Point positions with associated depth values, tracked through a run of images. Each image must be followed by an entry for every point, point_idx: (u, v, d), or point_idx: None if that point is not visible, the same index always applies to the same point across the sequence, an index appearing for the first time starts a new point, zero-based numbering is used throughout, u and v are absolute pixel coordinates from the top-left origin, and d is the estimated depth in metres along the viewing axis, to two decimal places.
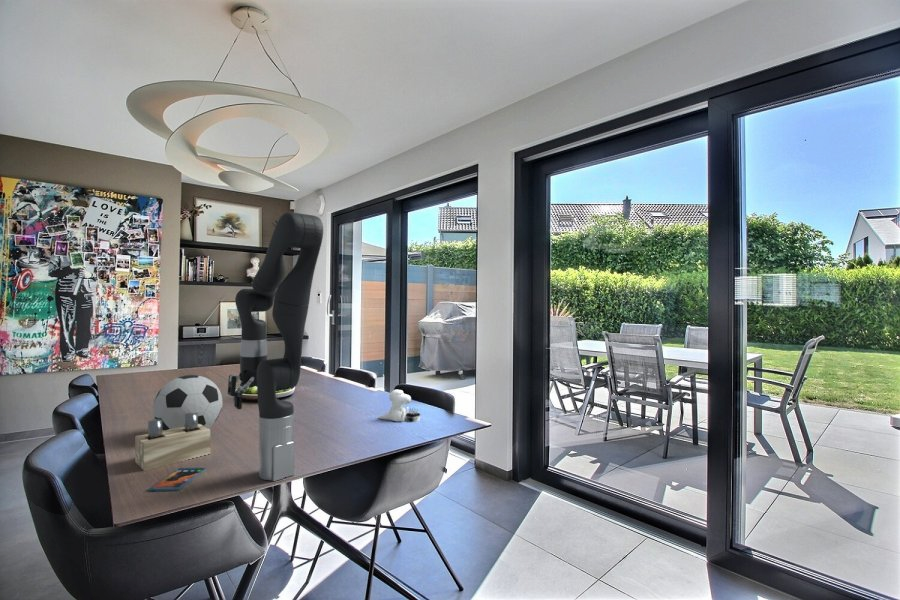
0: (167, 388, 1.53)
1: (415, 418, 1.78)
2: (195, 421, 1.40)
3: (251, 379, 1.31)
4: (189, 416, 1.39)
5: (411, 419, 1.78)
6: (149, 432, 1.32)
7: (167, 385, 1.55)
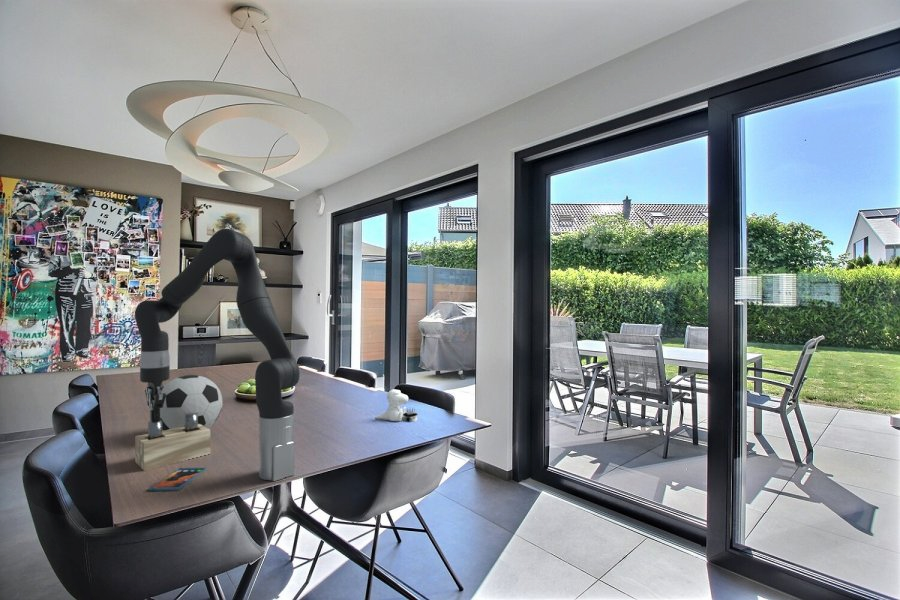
0: (167, 388, 1.53)
1: (412, 418, 1.78)
2: (195, 421, 1.40)
3: None
4: (189, 416, 1.39)
5: (408, 419, 1.78)
6: (149, 433, 1.32)
7: (167, 385, 1.55)
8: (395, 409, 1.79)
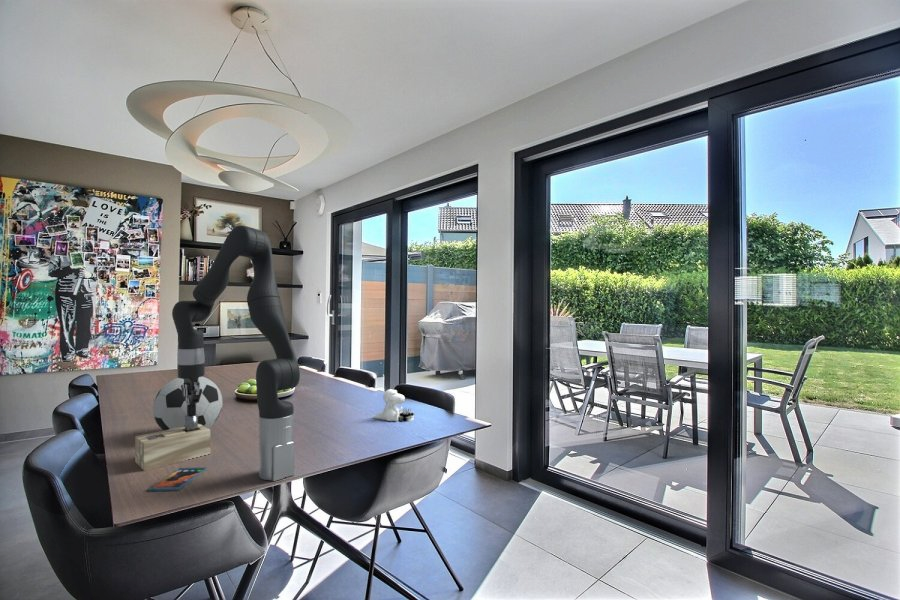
0: (167, 388, 1.53)
1: (409, 418, 1.78)
2: (195, 423, 1.40)
3: None
4: (189, 418, 1.39)
5: (405, 419, 1.78)
6: None
7: (167, 385, 1.55)
8: (391, 409, 1.79)
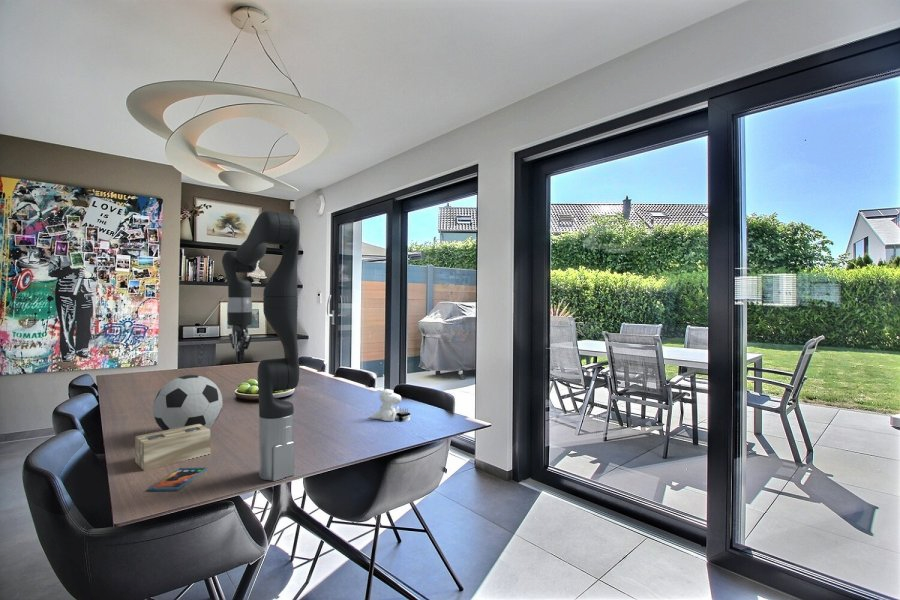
0: (167, 388, 1.53)
1: (405, 417, 1.79)
2: None
3: None
4: None
5: (401, 419, 1.78)
6: None
7: (167, 385, 1.55)
8: (388, 409, 1.79)
